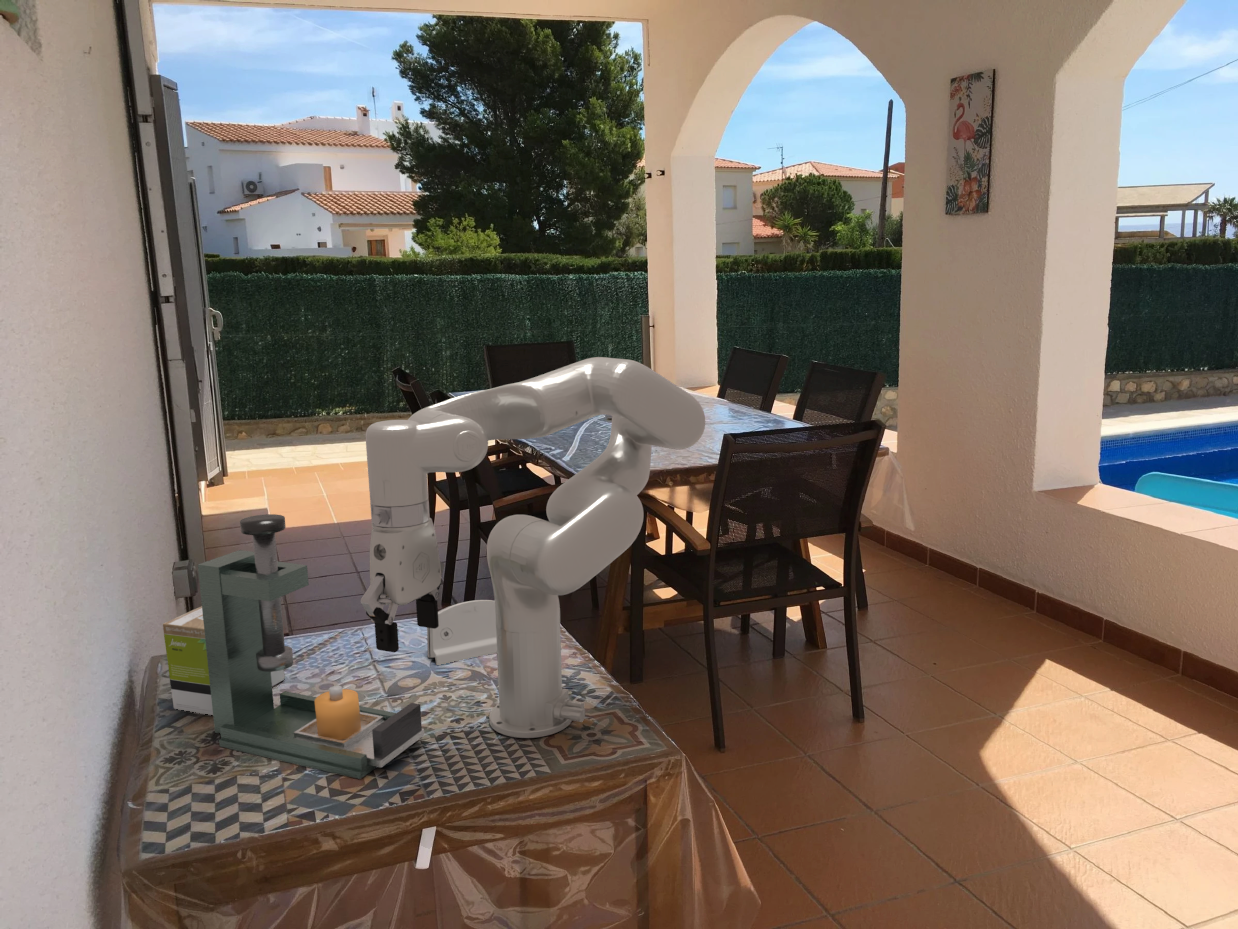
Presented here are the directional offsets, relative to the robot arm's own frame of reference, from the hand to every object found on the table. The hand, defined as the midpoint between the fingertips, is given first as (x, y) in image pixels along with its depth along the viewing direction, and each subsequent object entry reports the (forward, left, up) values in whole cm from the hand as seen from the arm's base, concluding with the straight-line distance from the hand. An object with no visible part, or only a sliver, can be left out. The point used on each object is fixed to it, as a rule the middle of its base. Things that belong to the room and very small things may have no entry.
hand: (408, 638), depth 129 cm
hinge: (+14, -38, -18) cm, 45 cm away
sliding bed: (+10, 0, -17) cm, 19 cm away
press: (+18, 0, -18) cm, 26 cm away
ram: (+24, 0, -8) cm, 25 cm away
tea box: (+41, -7, -18) cm, 45 cm away
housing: (+13, 0, -16) cm, 20 cm away
